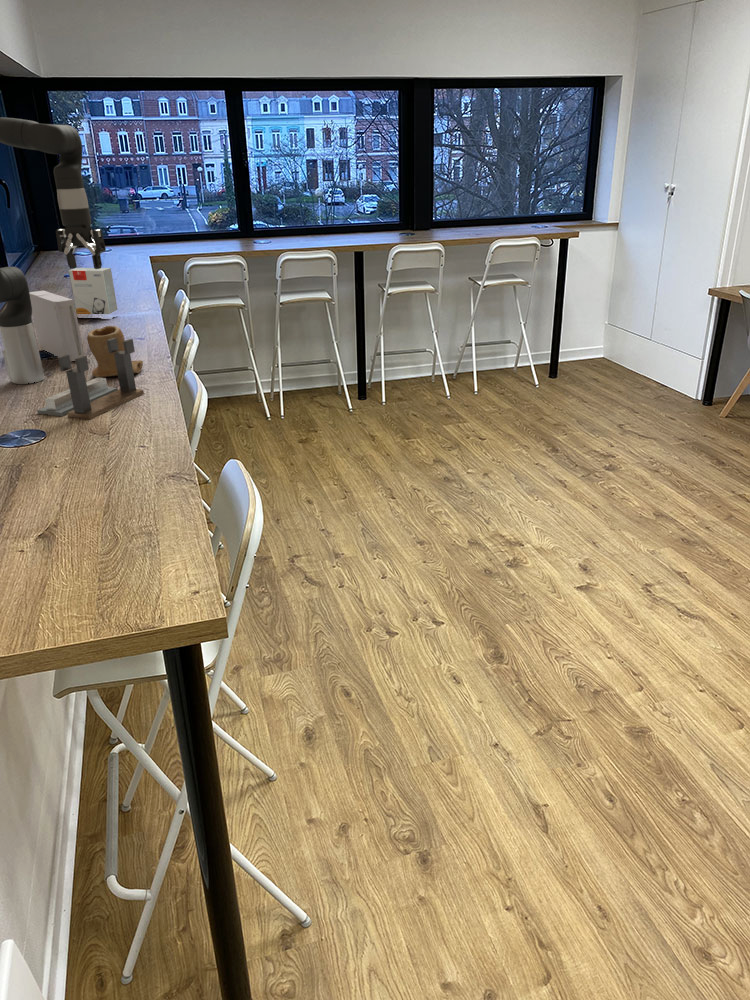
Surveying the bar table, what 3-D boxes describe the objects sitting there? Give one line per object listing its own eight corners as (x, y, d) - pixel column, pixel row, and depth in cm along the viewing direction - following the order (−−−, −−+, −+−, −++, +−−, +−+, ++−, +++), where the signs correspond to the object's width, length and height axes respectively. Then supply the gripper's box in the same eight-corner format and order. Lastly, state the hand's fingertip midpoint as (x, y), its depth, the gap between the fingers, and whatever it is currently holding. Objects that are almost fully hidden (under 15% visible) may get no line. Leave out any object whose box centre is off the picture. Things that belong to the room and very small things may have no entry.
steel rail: (47, 409, 199) (44, 398, 198) (99, 387, 217) (97, 377, 215) (56, 410, 198) (53, 399, 197) (107, 388, 216) (106, 378, 214)
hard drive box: (76, 319, 314) (67, 270, 306) (86, 315, 321) (76, 267, 313) (111, 319, 312) (102, 270, 303) (119, 315, 319) (111, 267, 310)
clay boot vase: (91, 383, 225) (81, 333, 219) (94, 372, 236) (85, 325, 229) (143, 378, 228) (135, 328, 222) (144, 368, 239) (136, 321, 232)
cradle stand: (68, 416, 196) (55, 357, 189) (123, 391, 215) (113, 337, 209) (89, 419, 194) (77, 359, 187) (143, 393, 213) (134, 338, 206)
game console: (68, 363, 247) (55, 302, 239) (39, 349, 266) (26, 292, 258) (85, 360, 251) (73, 299, 242) (55, 347, 270) (43, 290, 261)
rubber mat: (37, 413, 199) (37, 410, 199) (95, 389, 219) (94, 385, 218) (61, 416, 197) (61, 412, 196) (117, 391, 216) (117, 387, 216)
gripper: (104, 205, 204) (114, 267, 211) (62, 205, 209) (74, 266, 216) (85, 207, 198) (97, 271, 205) (43, 207, 203) (55, 270, 210)
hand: (85, 268), depth 210 cm, fingers open, 8 cm apart
